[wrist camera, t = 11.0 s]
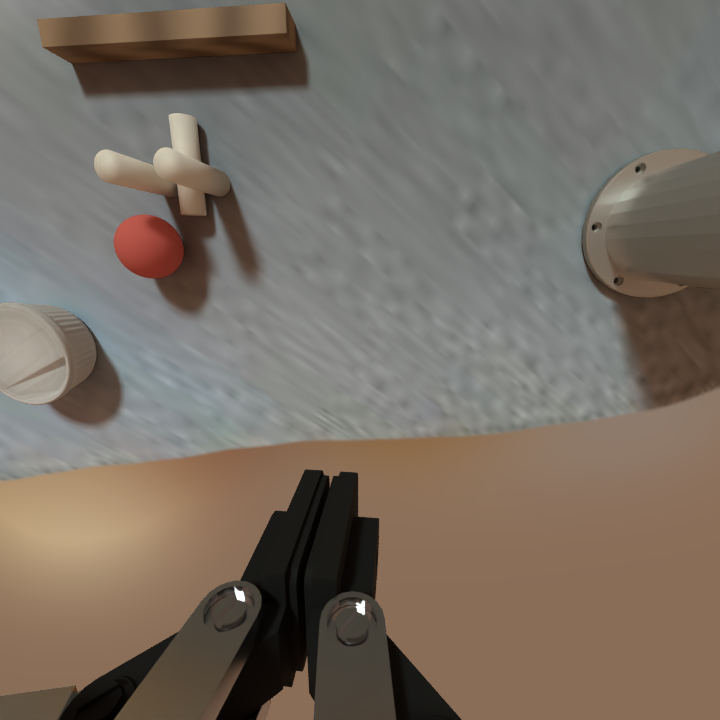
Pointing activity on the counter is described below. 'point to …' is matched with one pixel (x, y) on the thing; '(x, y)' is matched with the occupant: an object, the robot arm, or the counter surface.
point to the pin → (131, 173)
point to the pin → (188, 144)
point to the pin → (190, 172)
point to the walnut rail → (171, 34)
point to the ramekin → (42, 352)
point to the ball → (148, 246)
